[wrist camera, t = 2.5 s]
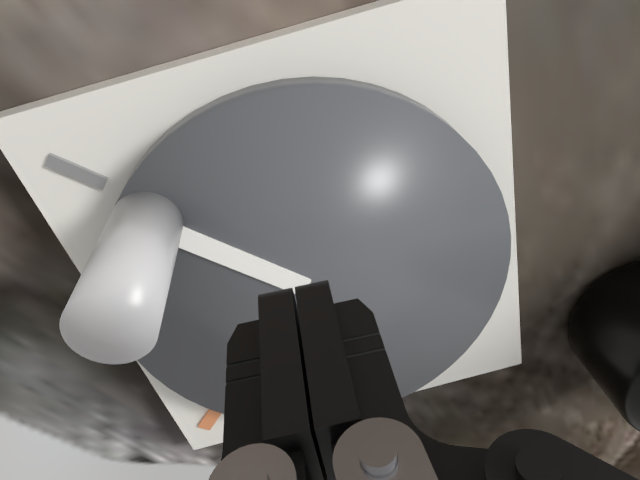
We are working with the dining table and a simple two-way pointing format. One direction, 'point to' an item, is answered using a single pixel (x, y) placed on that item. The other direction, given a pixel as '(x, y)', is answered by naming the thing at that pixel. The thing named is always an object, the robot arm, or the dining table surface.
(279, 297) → the robot arm
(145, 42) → the dining table surface
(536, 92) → the dining table surface
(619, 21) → the dining table surface
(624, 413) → the ink bottle
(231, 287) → the dial
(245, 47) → the dial base
